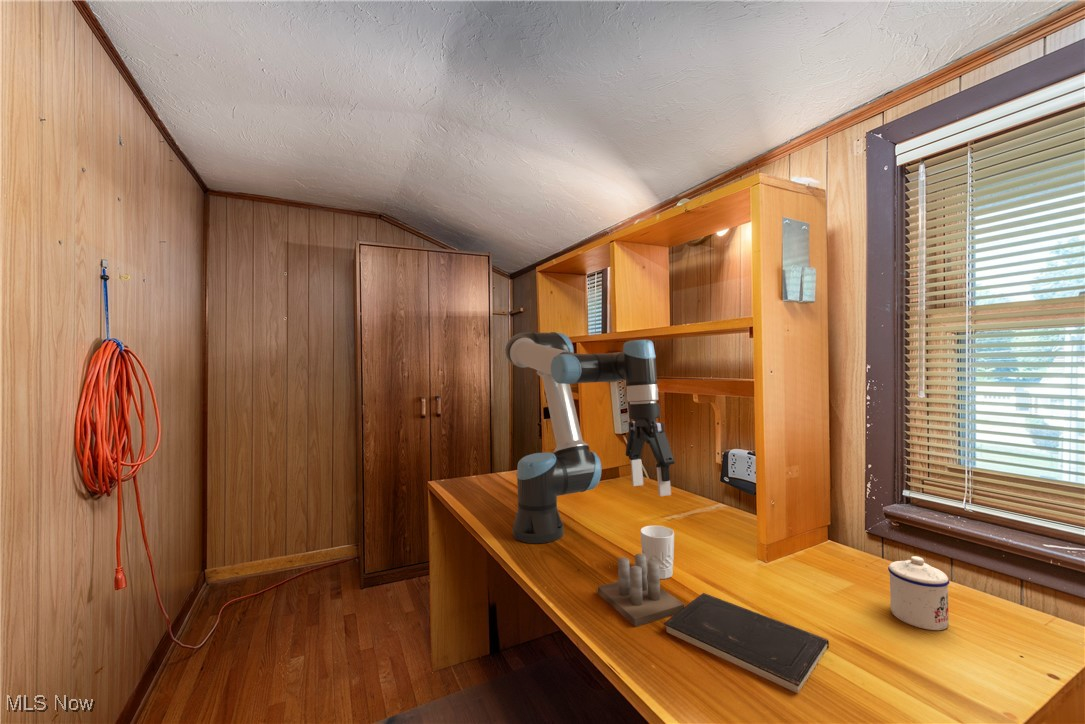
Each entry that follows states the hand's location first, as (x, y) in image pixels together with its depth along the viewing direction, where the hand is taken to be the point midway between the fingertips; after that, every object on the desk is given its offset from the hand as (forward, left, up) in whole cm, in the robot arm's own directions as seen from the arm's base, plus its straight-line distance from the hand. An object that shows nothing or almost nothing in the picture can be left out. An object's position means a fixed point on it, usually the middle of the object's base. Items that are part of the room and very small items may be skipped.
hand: (650, 490), depth 109 cm
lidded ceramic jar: (+38, +34, -20) cm, 55 cm away
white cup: (+1, 0, -20) cm, 20 cm away
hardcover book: (+29, -2, -20) cm, 36 cm away
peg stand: (+10, -12, -20) cm, 25 cm away
